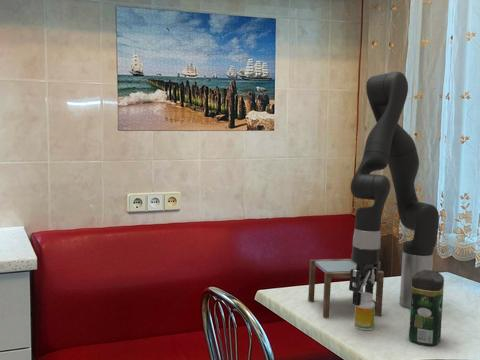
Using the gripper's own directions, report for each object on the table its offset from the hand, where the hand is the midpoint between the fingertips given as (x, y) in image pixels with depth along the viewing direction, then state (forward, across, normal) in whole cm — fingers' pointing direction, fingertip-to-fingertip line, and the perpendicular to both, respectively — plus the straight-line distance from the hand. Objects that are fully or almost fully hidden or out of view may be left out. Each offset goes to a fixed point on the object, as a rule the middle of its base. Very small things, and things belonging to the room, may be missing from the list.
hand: (362, 301), depth 152 cm
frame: (+7, -11, -11) cm, 17 cm away
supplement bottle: (+8, 0, +1) cm, 8 cm away
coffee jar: (+8, -3, +17) cm, 19 cm away
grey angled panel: (-3, -12, -11) cm, 16 cm away
